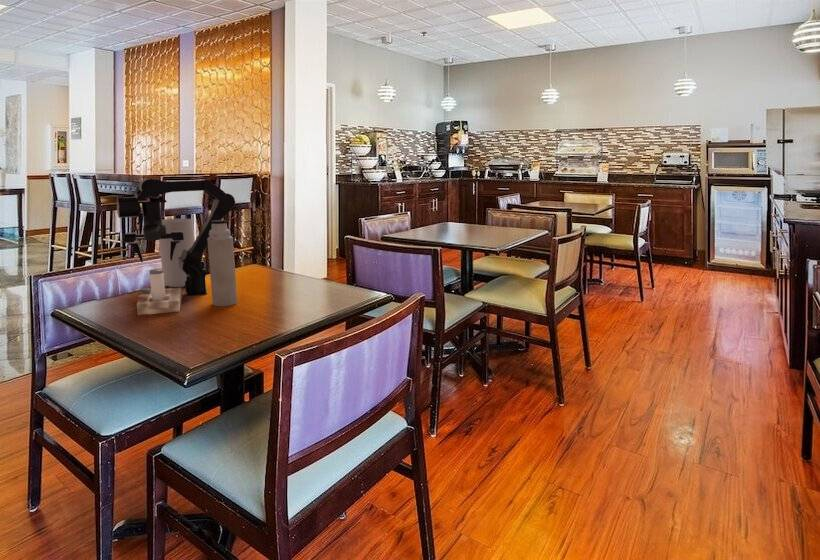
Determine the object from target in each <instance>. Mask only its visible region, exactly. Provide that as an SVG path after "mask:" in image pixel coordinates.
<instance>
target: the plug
mask: <svg viewBox="0 0 820 560" xmlns="http://www.w3.org/2000/svg"><path fill="white" fill-rule="evenodd" d="M148 272H149V281H150V282H149V283H150V290H151V292H152V302H153V301H165V300H166V295H165V289H166V286H165V285H164V275H163V269H162V268H152V269H149V270H148Z"/></svg>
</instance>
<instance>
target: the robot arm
mask: <svg viewBox="0 0 820 560" xmlns="http://www.w3.org/2000/svg"><path fill="white" fill-rule="evenodd" d="M199 191H201V192H202V191H203V192H204V193H206V195H207V196H209V197H210V198H211V199H212V200H213V202H212V205H211V210H210V213H209V216H208V217H207V219H206V221H204V224H203V226H202V228H201V229H200V231H199V234H198V235H197V237H196V239H195V242H194V244H193V246H192V247H191V248H190V249H189V250H188V251H187V250H185V249H184V250H183V252H182V255H181V256H180V257H179V258H178V259H179V263H178V264H179V268H180V269H181V270H182V271H184V272H185V273H186V275H188V276H187V277H186V279H187V280H185V287H184V288H185V293H187V294H186V295H187V296H193V295H194V296H195V295H206V294H207V293H208V290H207V285H206V283H207V281H206V276H207V271H206V270H205V269H204V268H202V267H201V265H202V261H203V255H204V253H205V250H206V248H208V240H207V238H208V237H209V231H210V230H211V229H212V227H211V225H212V223H211V221H214V220H223V218H224V217H225V216H226V215H228V214H229V213H230V212H231V211H232V209H233V208H234V207H235V205H236V201H235V197H234V195H232V194H230V193H228V192H227V193H226V192H225V191H224V190H223V189H221V188H220V187H219V186H217V185H216V184H215V183H214V182H213V181H211V180H210V179H205V178H203V179H196V180H195V179H193V180H191V179H190V180H170V181H169V180H168V181H167V180H160V179H155V178H154V179H153V178H144V179H141V181H140V182H139V184H138V190H137V191H136V193H135V194H134V196H130V197H129V196H128V197H127V196H126V197H124V196H116V212H117V217H118V218H119V219H120V218H121V219H122V218H123V219H124V218H138V217H139V215H141V214H142V219H143V227H142V228H143V229H142V231H143V234H142V233H141V234H138V232H135V231H134V232H125V233H124V234H123V235H122V243H123V244H125V243H126V244H127V245H128V246H131V247H132V248H133V249H134V250H135V252H136V255H137V256H138V259H139V261H140V262H141V263H143V262H144V260H143V258H144V257H143V253H142V248H141V244H140V243H141V242H140V241H141V240H144V241H147V242H148V241H154V240H155V241H159V240H160V239H170V238H171V239H172V240H171V248H170V260H171V261H172V258H173V253H174V249H175V246H176V244H177V243H180V240H184V232H183V231H171V233H166V225H162V220H163V217H162V209H161V207H162V206H161V204H162V203H167V202H168V201H167V200H166V199H165V198H163V196H162V195H165V194H168V193H169V194H170V193H176V192H177V193H178V192H180V193H181V192H199ZM156 196H157V197H156ZM146 199H147V200H146Z"/></svg>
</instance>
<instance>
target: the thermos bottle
mask: <svg viewBox="0 0 820 560" xmlns="http://www.w3.org/2000/svg"><path fill="white" fill-rule="evenodd" d="M211 223H212V225H211V227H212V229H211V230H210V231H209V237H208V238H207V240H208V245H207V249H208V250H207V251H208V262H209V265H208V266H209V275H210V286H211V301H212V305H213V306H216V307H228V306H233V305H235V304H237V303H238V292H237V278H236V277H237V276H236V264H235V248H234V237H233V236H232V235H231V230H230V229H229V228H228V225H227V223H228V221H227V220H225V219H222V220H214V221H211Z"/></svg>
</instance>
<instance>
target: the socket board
mask: <svg viewBox="0 0 820 560" xmlns="http://www.w3.org/2000/svg"><path fill="white" fill-rule="evenodd" d="M165 295H166V300H165V301H153V302H152V292H151V287H145V288H141V294H139V295H138V296H137V299H138V301H137V303H136V311H137V316H142V315H144V316H145V315H153V314H154V315H155V314H164V313H165V314H167V313H178V312H180V311H181V305H182V299H183V298H182V297H183V296H182V287H168V288H165Z"/></svg>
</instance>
